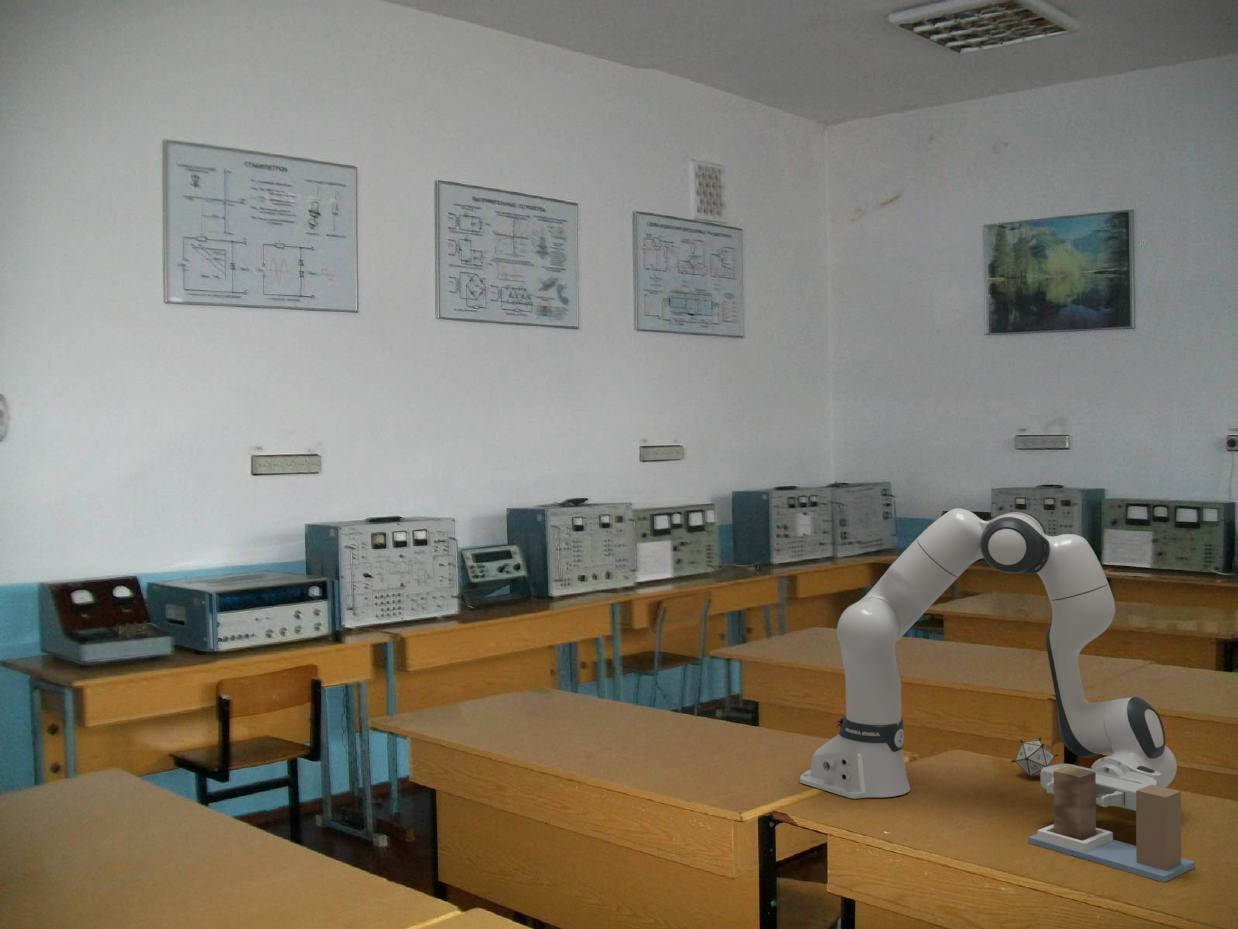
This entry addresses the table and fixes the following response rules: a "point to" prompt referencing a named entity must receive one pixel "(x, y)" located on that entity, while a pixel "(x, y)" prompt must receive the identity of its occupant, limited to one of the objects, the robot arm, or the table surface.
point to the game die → (1034, 757)
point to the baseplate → (1119, 859)
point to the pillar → (1075, 802)
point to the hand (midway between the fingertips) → (1074, 795)
